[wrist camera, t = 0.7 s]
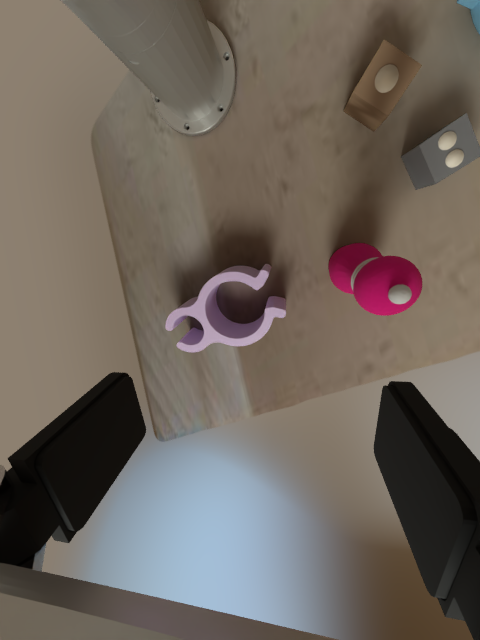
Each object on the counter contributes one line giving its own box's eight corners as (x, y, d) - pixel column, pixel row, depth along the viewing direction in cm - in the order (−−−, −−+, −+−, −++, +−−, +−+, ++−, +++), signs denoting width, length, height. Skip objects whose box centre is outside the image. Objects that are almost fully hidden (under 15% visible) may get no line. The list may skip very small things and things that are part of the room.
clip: (201, 349, 50) (189, 366, 44) (170, 296, 47) (152, 306, 41) (292, 313, 44) (293, 328, 37) (263, 250, 41) (259, 254, 34)
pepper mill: (337, 294, 41) (378, 347, 23) (317, 257, 39) (344, 282, 21) (380, 272, 39) (465, 312, 20) (361, 232, 37) (434, 235, 19)
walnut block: (343, 111, 32) (353, 91, 28) (369, 67, 31) (384, 38, 26) (373, 132, 33) (388, 115, 28) (401, 89, 31) (422, 64, 26)
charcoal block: (400, 157, 33) (419, 144, 28) (440, 129, 31) (467, 112, 27) (415, 189, 34) (436, 183, 29) (454, 165, 32) (483, 154, 28)
